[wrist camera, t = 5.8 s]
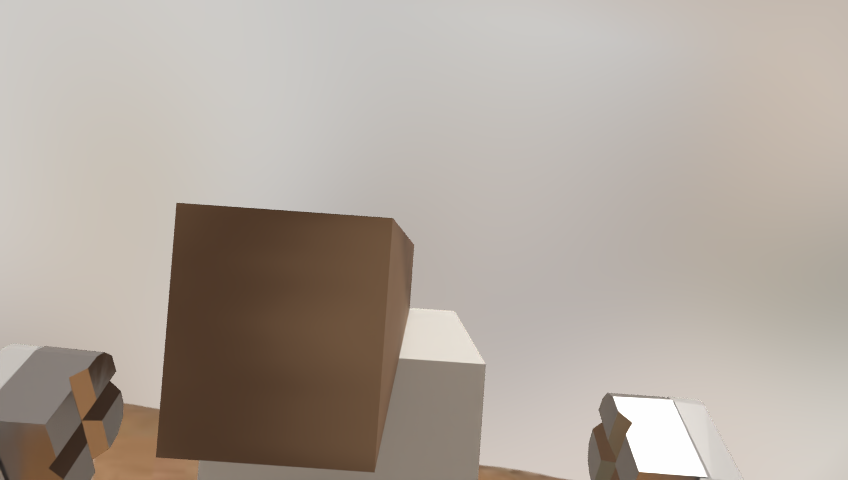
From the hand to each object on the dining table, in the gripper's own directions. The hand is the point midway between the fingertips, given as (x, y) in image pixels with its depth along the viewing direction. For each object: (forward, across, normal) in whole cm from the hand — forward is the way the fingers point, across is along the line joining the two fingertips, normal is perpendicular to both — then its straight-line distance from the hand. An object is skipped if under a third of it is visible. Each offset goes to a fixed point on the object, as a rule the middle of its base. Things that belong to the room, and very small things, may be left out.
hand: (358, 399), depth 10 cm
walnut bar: (+8, -1, -6) cm, 10 cm away
